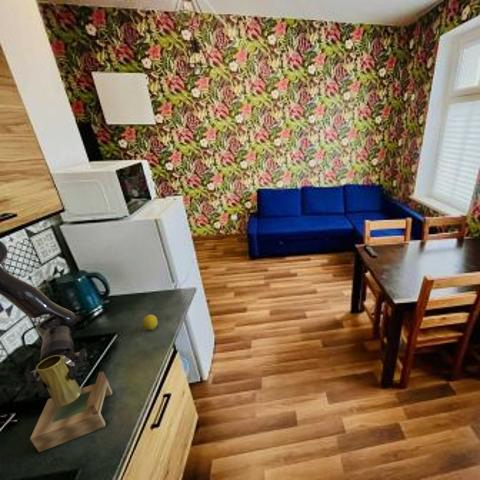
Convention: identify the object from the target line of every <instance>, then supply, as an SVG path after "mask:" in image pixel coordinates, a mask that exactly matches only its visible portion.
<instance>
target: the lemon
mask: <svg viewBox="0 0 480 480" xmlns="http://www.w3.org/2000/svg"><path fill="white" fill-rule="evenodd" d="M142 326H143V328H144V329H145V330H148V331H153V330H154V329H156V328H157V326H158V318H157V317H156V316H155V315H154V314H147V315H145V316H144V317H143V318H142Z"/></svg>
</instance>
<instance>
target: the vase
mask: <svg viewBox="0 0 480 480" xmlns="http://www.w3.org/2000/svg"><path fill="white" fill-rule="evenodd" d="M36 369H37V371H38V374H39V375H40V376H41V378H42V380H43V382H44V384H45V386H46V387H47V390H46V391H47V392H48V394H49V396H50V398H52V400H53V402H54V404H55V406H57V407H62V406H65V405H68V404H70V403H72V402H73V401H75V400H76V399H77V398H78V397H79V396H80V394H81V388H82V387H80V386H79V384H78V382H77V381H76V379H75V380H71V378H70V376H69V369H68V368H67V366H66V364H65V362H64V360H63V358H62V357H61V356H60V355H54V356H51V357H48V358H46V359H44V360H43V361H41V362H39V363H38V364H36V367H35V370H36ZM39 375H38V376H39Z"/></svg>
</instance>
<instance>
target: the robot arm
mask: <svg viewBox="0 0 480 480" xmlns="http://www.w3.org/2000/svg"><path fill="white" fill-rule="evenodd" d="M7 256H8V248H7V246H6V244H5V243H4V242H3V241H1V240H0V296H2V297H4V298H5V299H6V300H7V301H9V302H10V303H11V304H12V305H14V306H15V307H16V308H17V309H19V310H20V311H21V312H22V313H23V314H24V315H26V316H27V317H28V318H30V319H36V318H39V317H42V316H44V315H51V316H49V317H47V318H45V319H44V320H41V321H40V322H39V323H38V324H37V325H36V328H35V330H36V332H37V334H38V335H39V336H40V337H41V338H42V344H41V347H40V348H41V349H40V362H41V361H43V360H44V359H46V358H48V357H51V356H54V355H60V356H61V357H62V358H63V360H64V362H65V364H66V366H67V368H68V369H69V376H70V378H71V380H75V381H76V378H77V377H78V375H79V374H78V371H79V368H84V367H85V366H86V364H87V360H88V351H87V350H86V348H85V347H84V348H81V349H80V350H79V351H78V352H75V348H74V347H75V346H74V345H75V343H74V340H73V336H72V335H73V334H72V330H71V328H72V327H74V326H75V325H76V324H77V322H78V316H77V315H76V313H75V312H73V311H71V310H69V309H67V308H64V307H63V306H60V305H58V304H56V303H55V302H54V301H52V300H51V299H49V297H48V296H46V295H45V294H44V293H43V292H42V291H40V290H39V289H38V288H37V287H35V286H33V285H32V284H31V283H28V282H26V281H24V280H22V279H20V278H18V277H16V276H14V275H13V274H11V273H10V272H8V271H7V270H5V268H3V266H2V265H1V264H3V262H4V261H5V260H6V259H7ZM76 359H77V361H76V362H75V360H76ZM40 362H39V363H40ZM38 374H39V373H38V371H37V369H36V368H35V369H34V370H32V371H31V370H30V369H29V370H26V371H25V372H24V376H25V379H26V381H27V383H28V385H29V387H30V389H32V390H33V389H36V390H37V392H38V393H39V394H42V395H43V394H46V393H47V391H48V390H47V387H46V386H45V384H44V382H43V380H42V378H41V376H40V375H38ZM37 376H38V377H37Z"/></svg>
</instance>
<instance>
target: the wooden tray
mask: <svg viewBox="0 0 480 480" xmlns="http://www.w3.org/2000/svg"><path fill="white" fill-rule="evenodd" d="M80 388H81V394H80V396H79V397H78V398H77V399H76V400H75V401H73V402H72V403H70V404H68V405H65V406H62V407H57V406H55V404H54V402H53V400H52V398H51V397H50V398H48V399H47V401H46V403H45V405H44V407H43V410H42V412H41V414H40V416H39V418H38V421H37V423H36V425H35V427H34V429H33V432H32V434H31V436H30V438H29V440H30V442H31V443H32V444H33V446H34V447H35V449H36V450H37V452H38V453H41V452H44V451H47V450H49V449H52V448H54V447H56V446H59V445H62V444H64V443H67V442H69V441H72V440H74V439H78V438H79V437H82V436H86V435H88V434H90V433H92V432H95V431H97V430H100V429H103V428H105V427H106V421H105V419H104V417H103V415H102V409H103V404H104V400H105V398H107V397H111V396H112V395H113V390H112V388H111V386H110V383H109V381H108V378H107V376H106V374H105V372H104V371H99V372H98V374H97V377H96V381H95V383H93V384H90V385H87V386H84V387H80Z"/></svg>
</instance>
